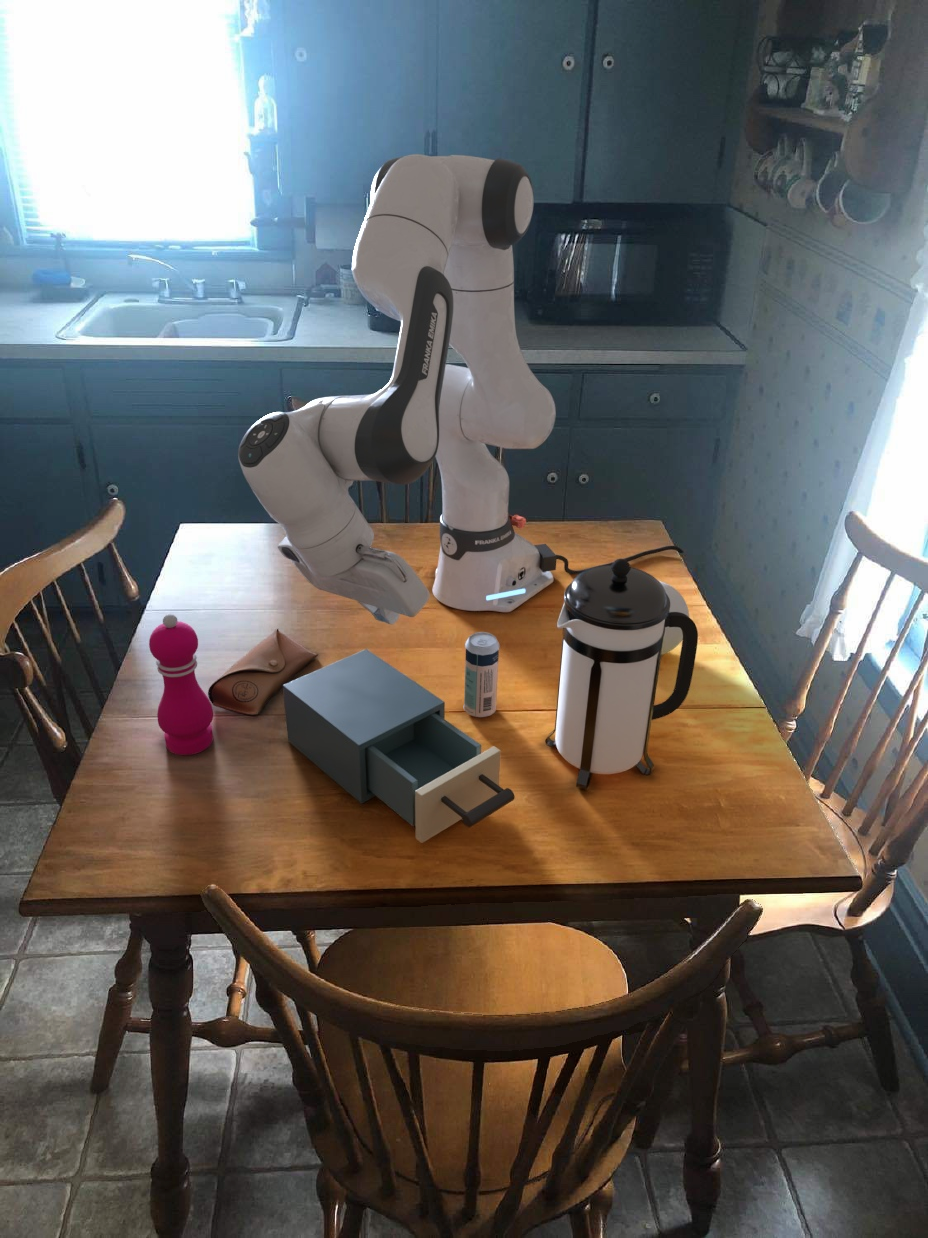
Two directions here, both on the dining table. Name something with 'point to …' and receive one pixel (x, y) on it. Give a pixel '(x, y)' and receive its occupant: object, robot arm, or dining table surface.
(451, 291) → the robot arm
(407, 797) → the drawer
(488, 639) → the beer can
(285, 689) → the cabinet
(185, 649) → the pepper mill
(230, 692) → the sunglasses case
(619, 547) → the dining table surface
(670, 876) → the dining table surface
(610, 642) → the coffee press
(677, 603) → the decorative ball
